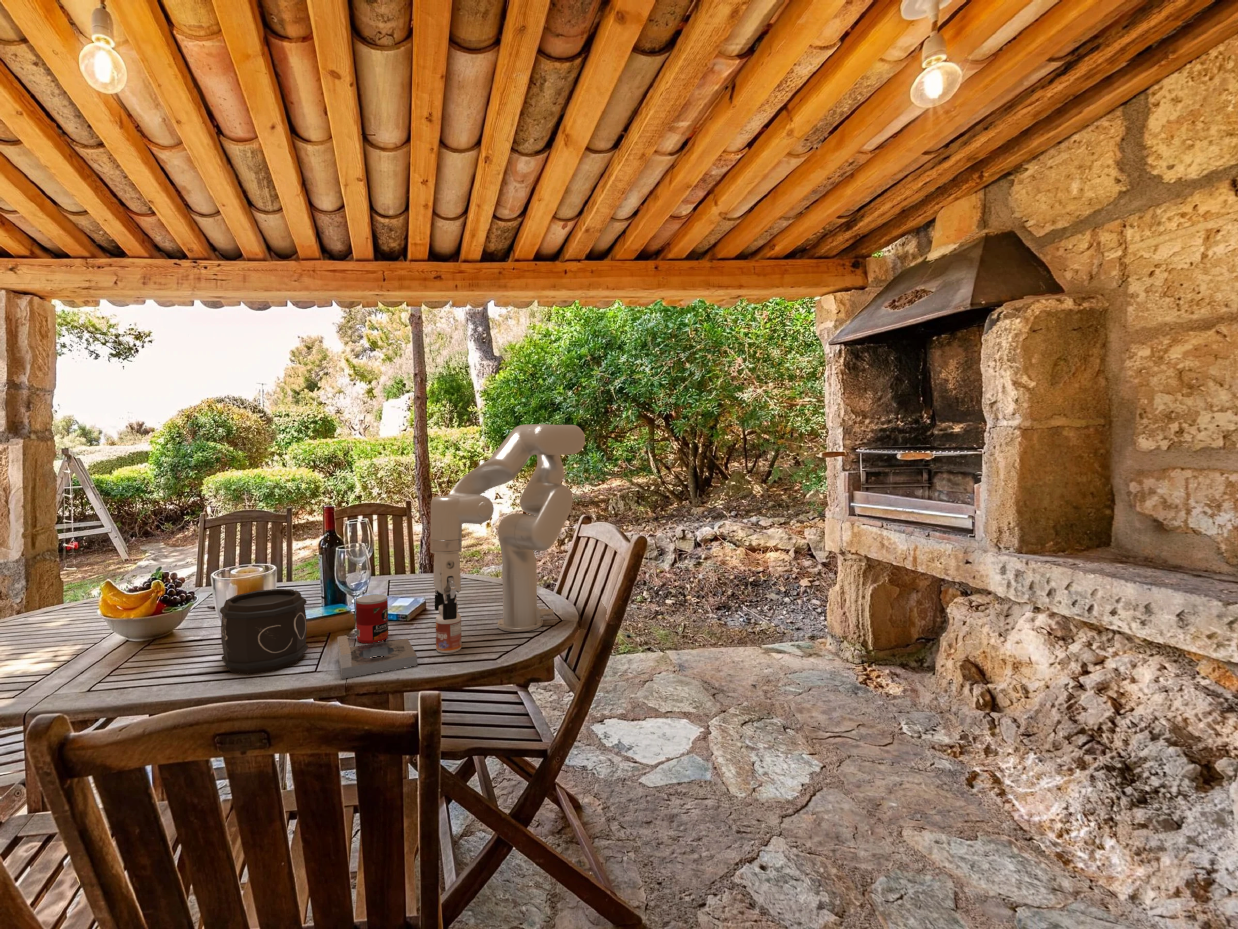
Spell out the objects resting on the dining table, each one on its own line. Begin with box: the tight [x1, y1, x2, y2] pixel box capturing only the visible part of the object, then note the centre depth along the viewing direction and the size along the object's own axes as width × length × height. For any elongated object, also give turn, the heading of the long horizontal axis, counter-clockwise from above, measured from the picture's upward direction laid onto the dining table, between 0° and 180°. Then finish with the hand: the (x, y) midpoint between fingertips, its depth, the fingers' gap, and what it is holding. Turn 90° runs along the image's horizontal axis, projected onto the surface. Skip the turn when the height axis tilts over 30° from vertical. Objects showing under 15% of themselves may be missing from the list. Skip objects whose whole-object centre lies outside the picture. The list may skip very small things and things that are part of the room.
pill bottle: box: [435, 604, 463, 654], centre depth 153 cm, size 6×6×11 cm
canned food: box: [355, 594, 389, 644], centre depth 161 cm, size 8×8×11 cm
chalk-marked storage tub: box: [219, 588, 309, 675], centre depth 146 cm, size 18×18×16 cm
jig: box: [337, 635, 418, 680], centre depth 144 cm, size 16×14×6 cm
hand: (445, 614), depth 152 cm, fingers open, 9 cm apart
